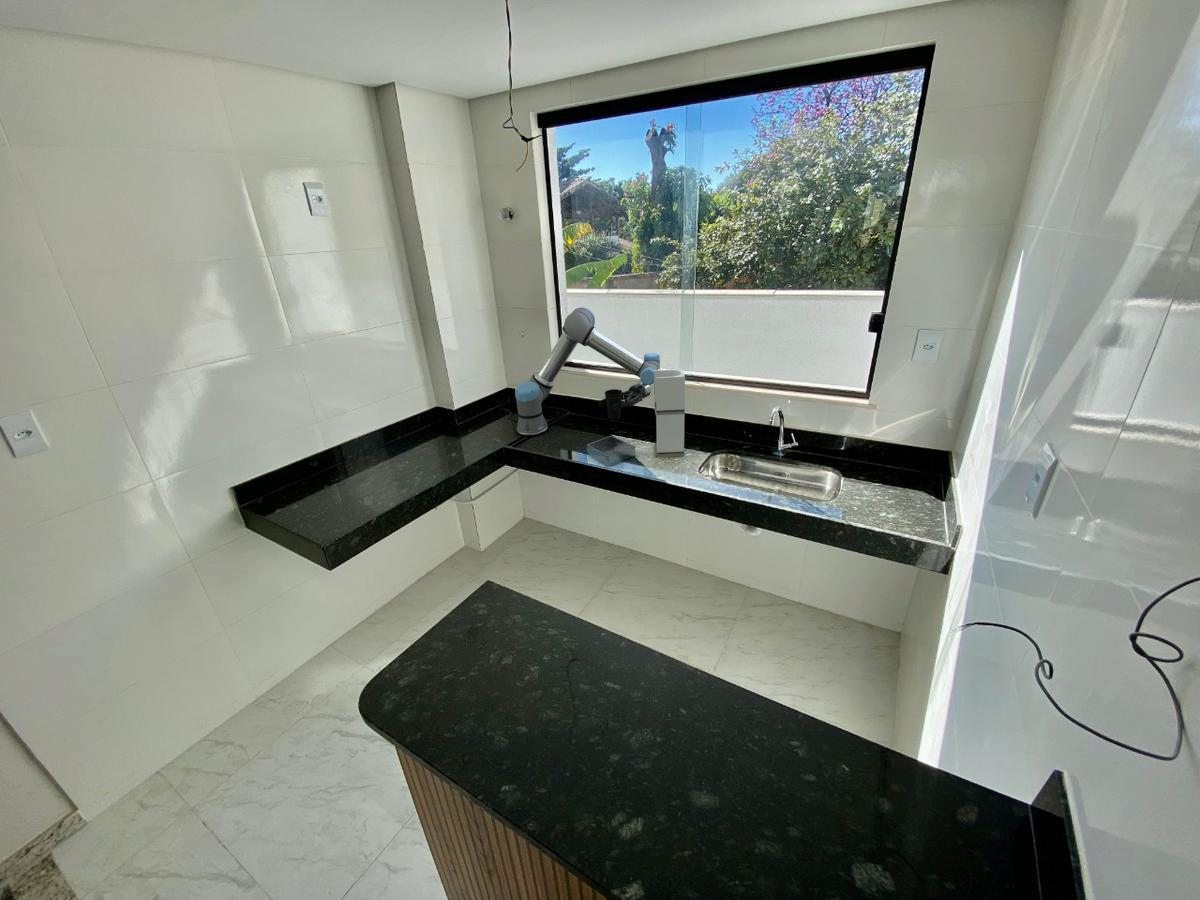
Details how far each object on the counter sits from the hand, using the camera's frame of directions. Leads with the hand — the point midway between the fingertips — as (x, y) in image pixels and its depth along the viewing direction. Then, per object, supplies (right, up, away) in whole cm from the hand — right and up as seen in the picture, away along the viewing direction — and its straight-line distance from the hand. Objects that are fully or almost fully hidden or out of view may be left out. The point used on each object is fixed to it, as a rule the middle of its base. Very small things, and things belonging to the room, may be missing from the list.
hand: (606, 405), depth 213 cm
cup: (+4, -5, +6) cm, 9 cm away
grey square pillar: (+27, -20, -2) cm, 34 cm away
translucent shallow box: (+2, -22, -2) cm, 22 cm away
